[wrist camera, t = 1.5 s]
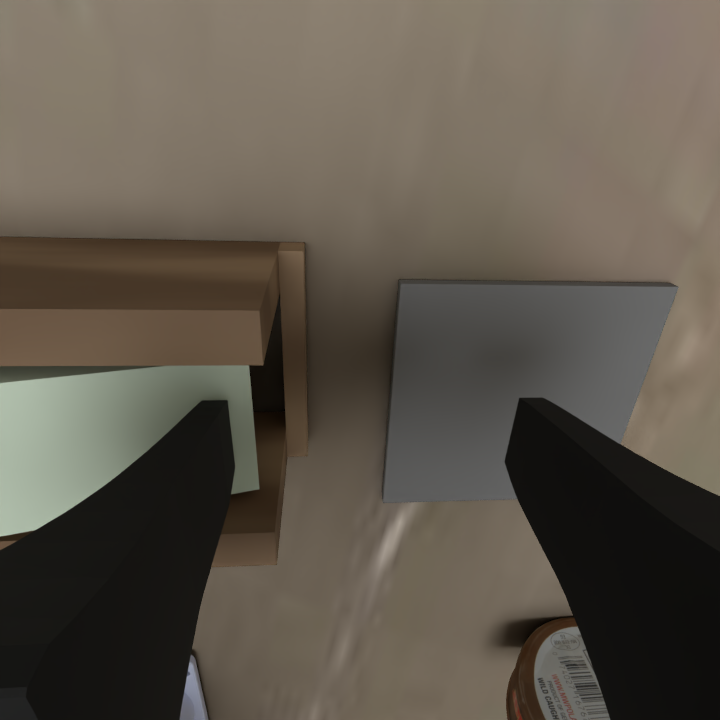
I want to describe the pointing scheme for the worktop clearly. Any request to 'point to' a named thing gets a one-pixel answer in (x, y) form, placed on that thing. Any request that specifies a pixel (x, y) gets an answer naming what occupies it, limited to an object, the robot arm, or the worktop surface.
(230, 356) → the pocket block
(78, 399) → the sage bar
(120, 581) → the robot arm
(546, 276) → the worktop surface
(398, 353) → the mat
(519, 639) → the worktop surface
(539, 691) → the tin
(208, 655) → the worktop surface
